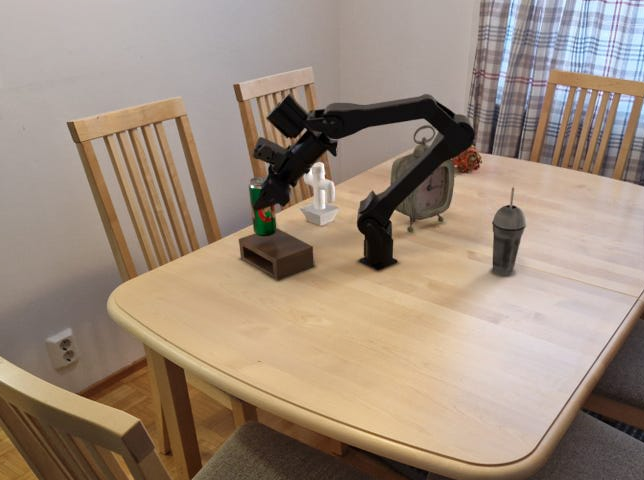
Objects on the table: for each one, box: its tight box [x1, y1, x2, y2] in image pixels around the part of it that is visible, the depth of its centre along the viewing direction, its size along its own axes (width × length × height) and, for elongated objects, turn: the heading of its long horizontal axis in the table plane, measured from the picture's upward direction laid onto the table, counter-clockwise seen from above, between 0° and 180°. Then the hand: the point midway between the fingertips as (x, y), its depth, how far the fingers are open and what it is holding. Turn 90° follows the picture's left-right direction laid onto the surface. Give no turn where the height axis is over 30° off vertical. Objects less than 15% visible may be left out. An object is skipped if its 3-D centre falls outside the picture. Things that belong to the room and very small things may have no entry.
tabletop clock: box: [389, 124, 455, 234], centre depth 160 cm, size 14×9×25 cm, turn 131°
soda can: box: [248, 176, 278, 236], centre depth 140 cm, size 5×5×12 cm
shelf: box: [238, 227, 315, 281], centre depth 145 cm, size 14×10×5 cm
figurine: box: [299, 161, 341, 227], centre depth 162 cm, size 7×9×15 cm
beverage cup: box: [491, 187, 527, 277], centre depth 141 cm, size 7×7×20 cm
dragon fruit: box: [451, 145, 483, 173], centre depth 201 cm, size 8×8×12 cm
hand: (256, 204), depth 140 cm, fingers closed on soda can, 5 cm apart
